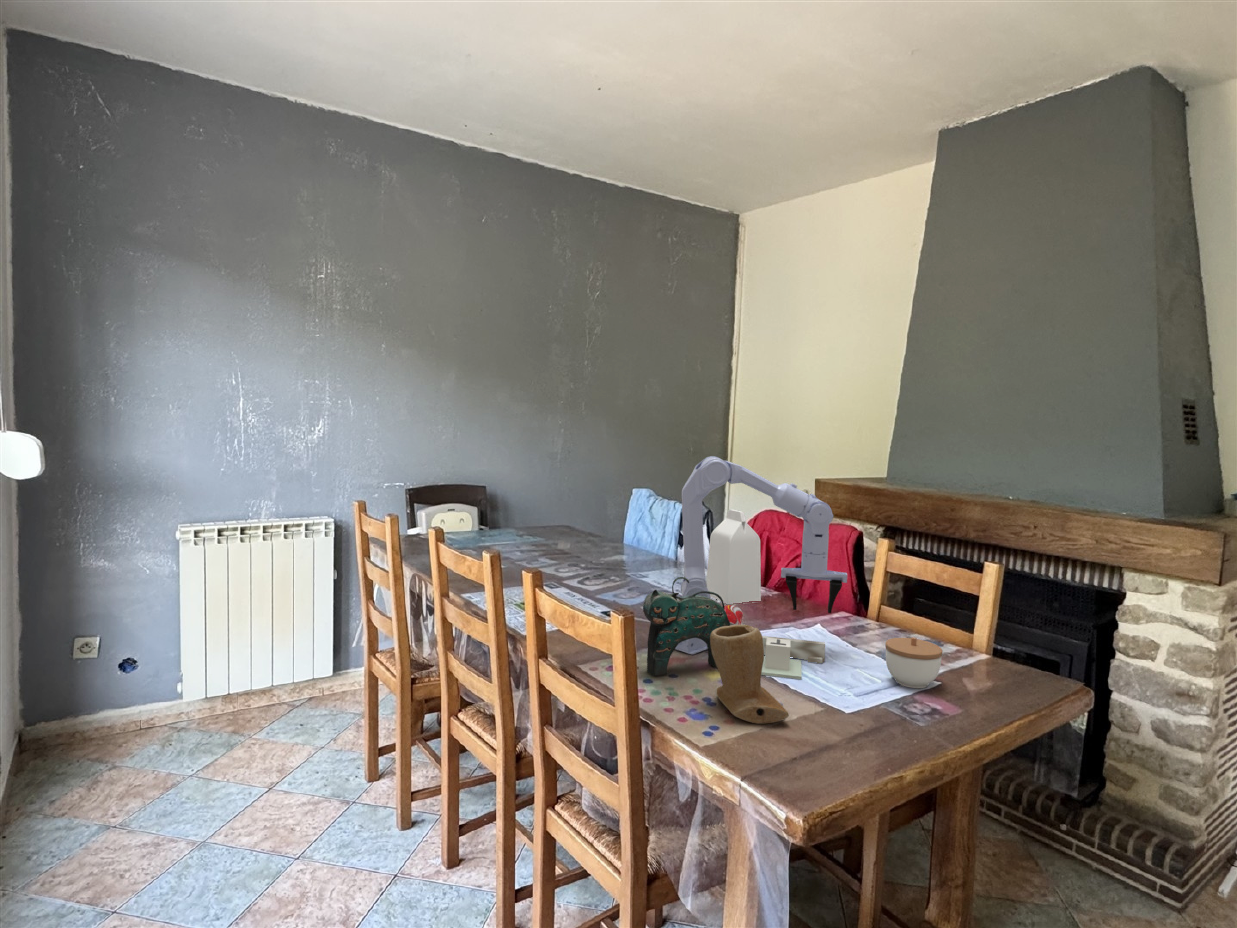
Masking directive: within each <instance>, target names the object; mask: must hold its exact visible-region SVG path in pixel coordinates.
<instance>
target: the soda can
mask: <svg viewBox="0 0 1237 928" xmlns="http://www.w3.org/2000/svg"><path fill="white" fill-rule="evenodd" d="M724 607H725V609H724V610H725V612H726V614H727V617H728V619H729V622H730V626H731V625H746V624H745V622H746V619H745V615H744V613H743V611H742V610H741V608H740V607H738V606H736V605H735V604H734V605H726V604H725V605H724Z"/></svg>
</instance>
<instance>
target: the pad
mask: <svg viewBox="0 0 1237 928" xmlns="http://www.w3.org/2000/svg"><path fill="white" fill-rule="evenodd" d="M761 676H768V677H775V678H776V677H777V678H783V679H784V678H785V679H793V680H802V678H803V677H802V660H799V659H790V666H789V671H788V670H780V669H771V668H765V656H764V661H763V666H762V672H761Z"/></svg>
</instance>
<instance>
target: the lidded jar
mask: <svg viewBox="0 0 1237 928" xmlns="http://www.w3.org/2000/svg"><path fill="white" fill-rule="evenodd" d="M942 656H943V649H942V648H941V647H940V646H939V645H937V644H935V643H933V642H930V641H928V640H923V639H918V637H915V636H911V637H893V638H889V639H887V640H886V641H885V662H886V668H887V670H888V672H889V673H890V675H891V676H892V678H893V679H896V680H895V682H896V681H897V682H898V683H899V684H898V683H897V682H896V683H897V684H898V685H900V686H903V687H906V688H911V689H925V688H927V687H928V685H930V684H931V683H932V682H934V681H935V680H936V678H937V677H938V675H939V672H940V670H941V665H942Z"/></svg>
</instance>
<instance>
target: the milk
mask: <svg viewBox="0 0 1237 928" xmlns="http://www.w3.org/2000/svg"><path fill="white" fill-rule="evenodd" d="M761 558H762V557H761V539H760V536H759V535H758V533H757V532H756V531H755V530H754V528H752V527H751V526H750V525H749V524H748V523H747V520H746V516H745V511H740V510H736V509H732V508H731V509H727V513H726V516H725V518H724V519H723V520H722V521H721V522H720V523H719V524H718V525H717V526H716V527H715V528H714V529H713V530H712V532H711V534H710V538H709V550H708V559H707V569H706V584H707V589H708V590H709V591H710V592H714V593H716V594H718V595H719V596H720V597H721V598H722V600H723V602H724V603H726V604H733V603H742V602H749V601H761V602H762V600H761V599H762V593H761V592H762V591H761V590H762V589H761V588H762V583H761V582H762V581H761V580H762V579H761V568H762V567H761V563H762V562H761V561H762V560H761ZM710 596H711V597H713V598H715V599H717V600H716V601H718V600H719V601H718V602H720V601H721V600H720V599H719V598H718V597H717V596H716V595H713V594H710ZM713 598H712V599H713ZM715 599H714V600H715ZM726 604H725V605H726Z"/></svg>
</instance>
